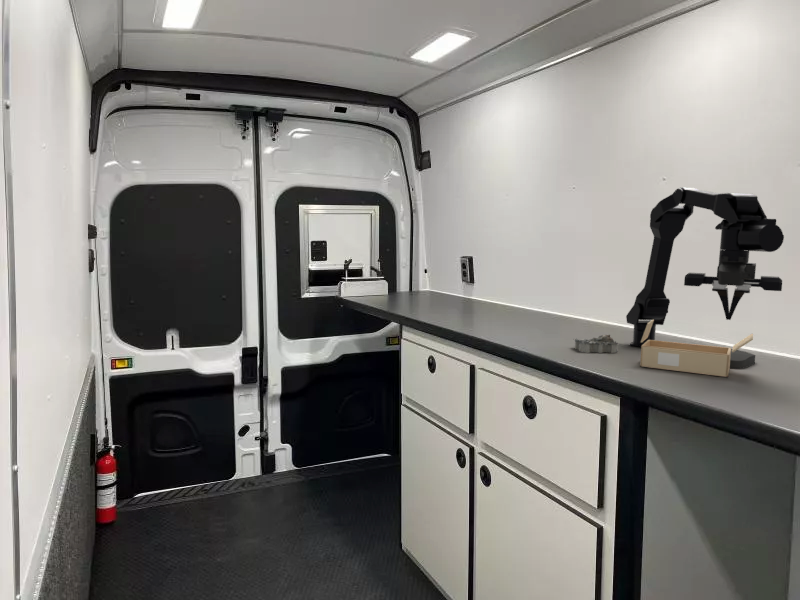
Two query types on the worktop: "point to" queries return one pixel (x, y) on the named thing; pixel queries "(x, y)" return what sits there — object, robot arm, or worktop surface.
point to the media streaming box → (741, 359)
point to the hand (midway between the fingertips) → (728, 319)
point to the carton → (686, 357)
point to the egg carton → (597, 344)
